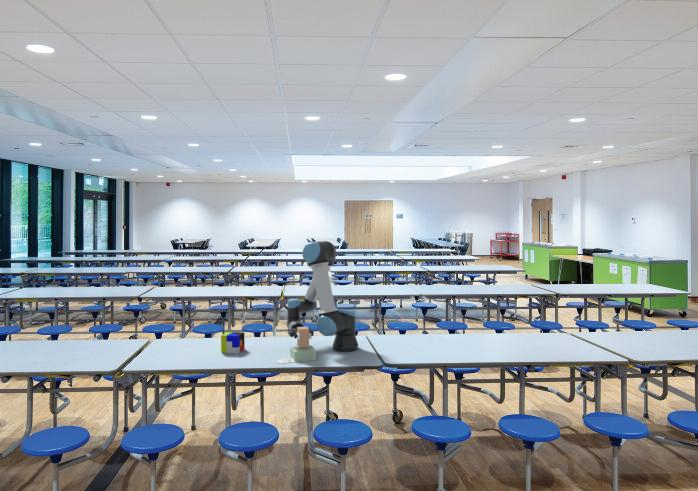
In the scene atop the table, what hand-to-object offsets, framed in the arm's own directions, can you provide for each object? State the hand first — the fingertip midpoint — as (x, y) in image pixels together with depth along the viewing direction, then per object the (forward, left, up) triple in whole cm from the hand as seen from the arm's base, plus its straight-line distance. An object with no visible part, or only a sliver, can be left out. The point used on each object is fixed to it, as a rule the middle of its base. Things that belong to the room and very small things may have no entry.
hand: (305, 337), depth 278 cm
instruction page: (+10, -1, -13) cm, 16 cm away
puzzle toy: (+36, -32, -13) cm, 50 cm away
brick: (0, -5, -6) cm, 8 cm away
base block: (0, -5, -13) cm, 14 cm away
